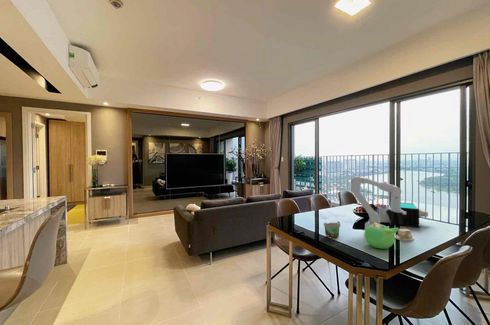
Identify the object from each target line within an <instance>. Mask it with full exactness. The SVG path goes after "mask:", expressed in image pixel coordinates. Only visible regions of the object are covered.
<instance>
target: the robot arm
mask: <svg viewBox="0 0 490 325" xmlns="http://www.w3.org/2000/svg"><path fill="white" fill-rule="evenodd" d="M363 184H364V185H365V184H368V185H370V186H374V187H378V190H381V191H384V192H387V193H390V202H391V208H390V206H386V210H387V211H386V213H387V214H388V217H389V220H390V221H393V215H394V212H397V213H400V214H397V215H398V219H399V224H402V223H403V220H404V218H405V217H406V211H403V210H402V209H401V203H402V200H401V194H402V193H403V192H402V189H401V188H400V187H399V186H396V185H394V184H393V183H392V184H390V183H389V182H388V183H387V181H380V182H379V181H375V180H372V179H370V178H367V177H363V176H358V175H354V176H352V178H351V179H350V191H351V192H352V194H353V195H354V197H355V198H356V199H357V200H358V202H359V203H360V205H361V206H362V207H363V209H364V210H365V212H367V214H368V217H369V219H368V221H366V222H365V223H364V231H365V230H366V229H367V227H368V226H370V225H373V224H374V222H376V223H378V224H381V222H380V219H381V218H380V216H379V215H378V213H377V211H375V210H374V208H373V207H372V206H371V204H370V203H369V202H368V201H367V199H366V198H365V197H364V195H363V193H361V191H360V190H359V189H360V186H361V185H363Z"/></svg>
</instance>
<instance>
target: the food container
mask: <svg viewBox="0 0 490 325" xmlns="http://www.w3.org/2000/svg"><path fill="white" fill-rule="evenodd" d="M323 226H324V234H325V237H326V236H327V237H326V238H328V237H331V238H330V239H338V238H339V234H340V227H341V222H340V221H337V222H329V223H328V222H324V223H323ZM337 237H338V238H337Z"/></svg>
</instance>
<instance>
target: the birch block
mask: <svg viewBox="0 0 490 325" xmlns="http://www.w3.org/2000/svg"><path fill="white" fill-rule="evenodd" d="M397 235H398V237H399V236H401V238H403V239H406V238H411V235H412V231H411V230H410V229H408V228H399V230H398V231H397Z"/></svg>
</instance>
